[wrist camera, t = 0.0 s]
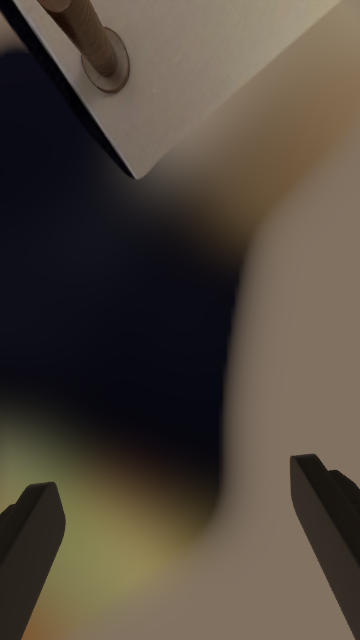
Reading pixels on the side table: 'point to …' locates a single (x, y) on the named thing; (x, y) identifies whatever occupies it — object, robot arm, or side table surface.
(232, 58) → the side table surface
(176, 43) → the side table surface
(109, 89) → the brown wooden peg
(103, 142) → the side table surface
